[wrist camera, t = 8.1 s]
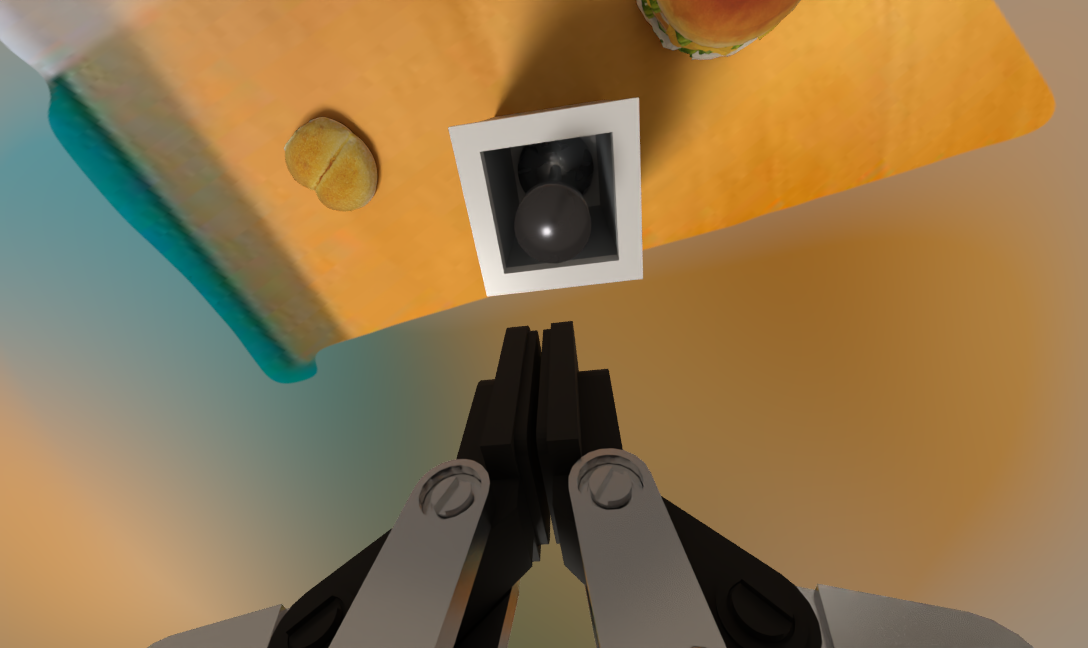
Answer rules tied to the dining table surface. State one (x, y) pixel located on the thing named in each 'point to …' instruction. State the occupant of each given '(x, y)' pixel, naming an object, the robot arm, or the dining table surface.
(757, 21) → the burger
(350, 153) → the bread roll
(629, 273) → the grey tall box
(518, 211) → the plunger
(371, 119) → the dining table surface
